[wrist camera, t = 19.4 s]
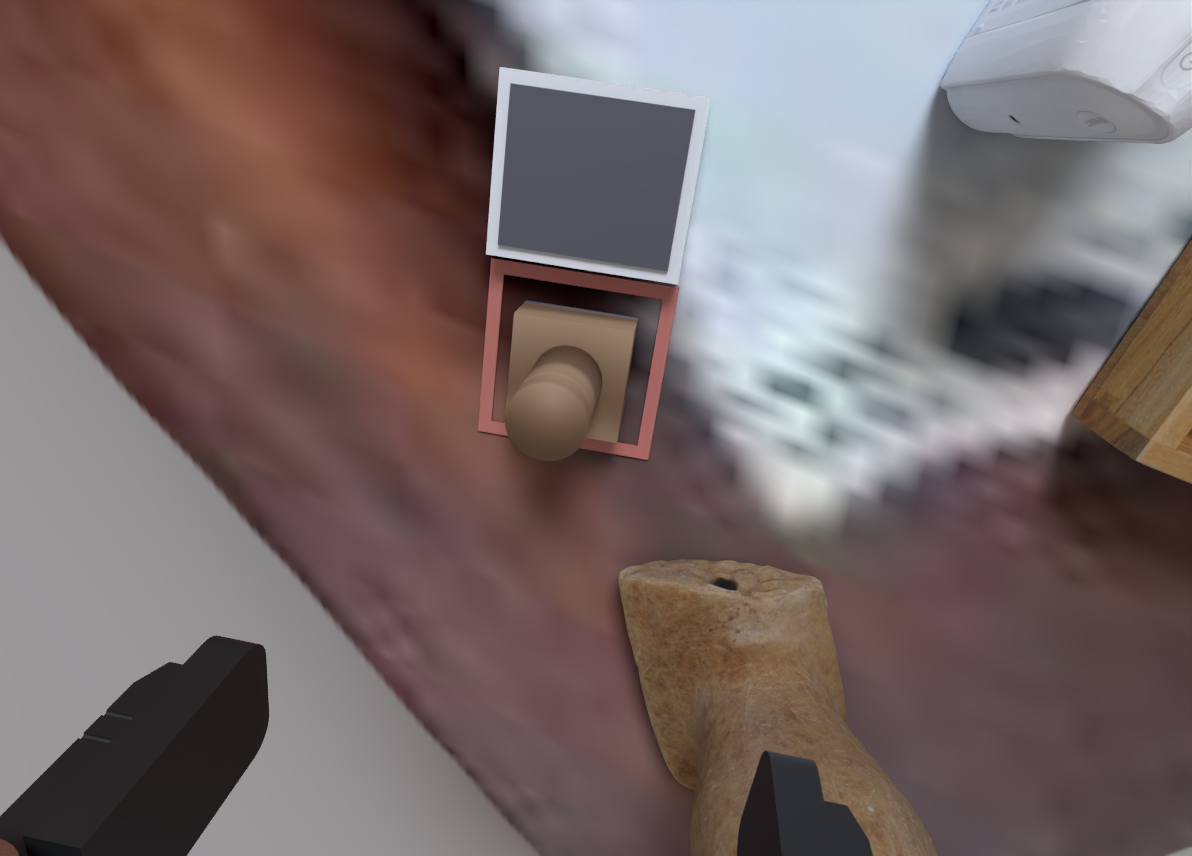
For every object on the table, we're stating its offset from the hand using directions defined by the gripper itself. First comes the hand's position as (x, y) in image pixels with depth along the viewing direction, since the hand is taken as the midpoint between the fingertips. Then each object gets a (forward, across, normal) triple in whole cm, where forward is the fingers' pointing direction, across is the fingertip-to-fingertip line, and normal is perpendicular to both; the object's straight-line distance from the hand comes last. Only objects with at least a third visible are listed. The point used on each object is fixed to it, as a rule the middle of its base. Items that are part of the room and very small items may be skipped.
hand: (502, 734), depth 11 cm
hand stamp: (+23, +2, +1) cm, 23 cm away
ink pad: (+23, +2, -6) cm, 24 cm away
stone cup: (+23, -10, +16) cm, 29 cm away
